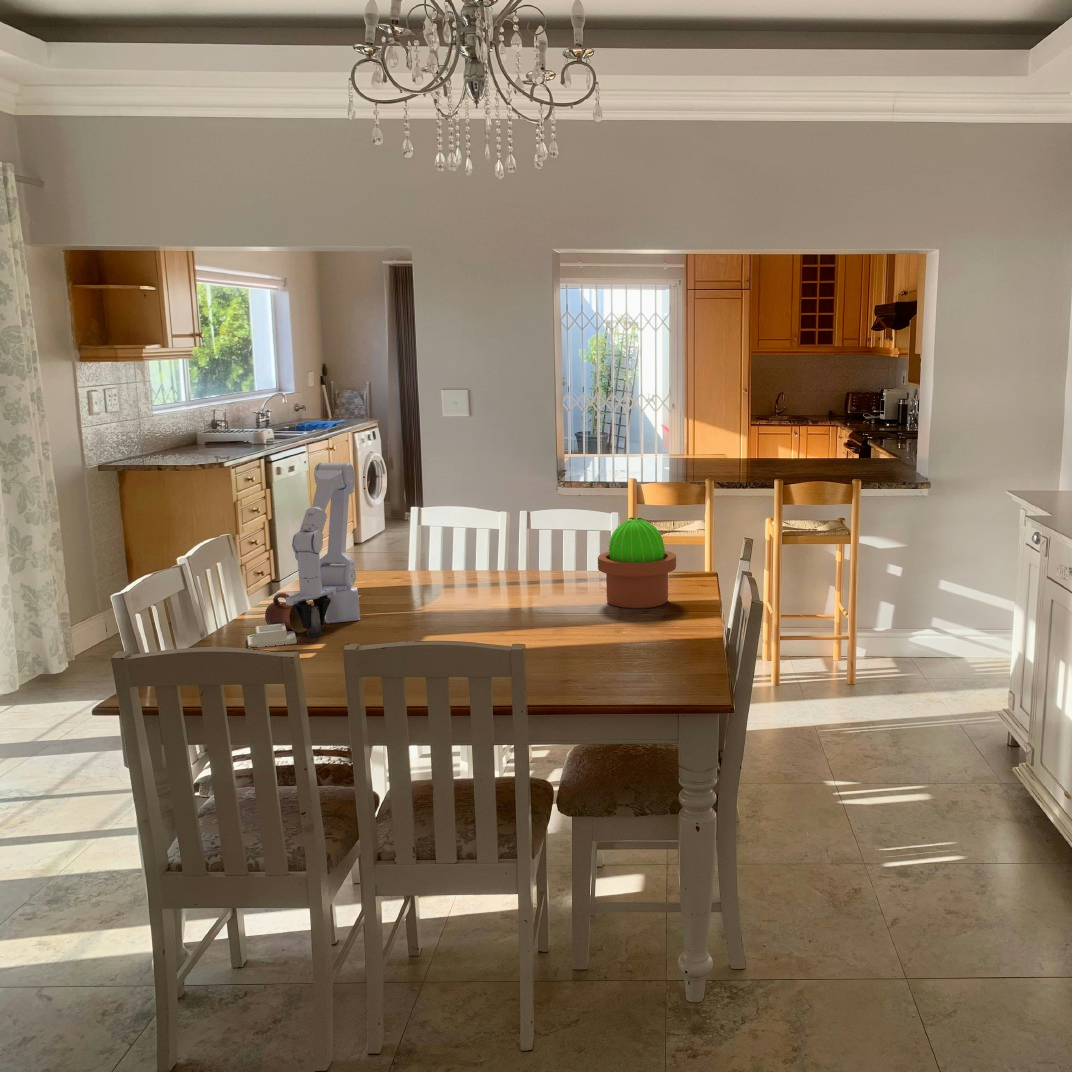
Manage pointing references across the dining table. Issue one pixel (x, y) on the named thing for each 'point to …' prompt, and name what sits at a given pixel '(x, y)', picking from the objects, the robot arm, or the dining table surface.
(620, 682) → the dining table surface
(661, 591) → the potted cactus
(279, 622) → the mug
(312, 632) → the cell
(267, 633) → the charger
